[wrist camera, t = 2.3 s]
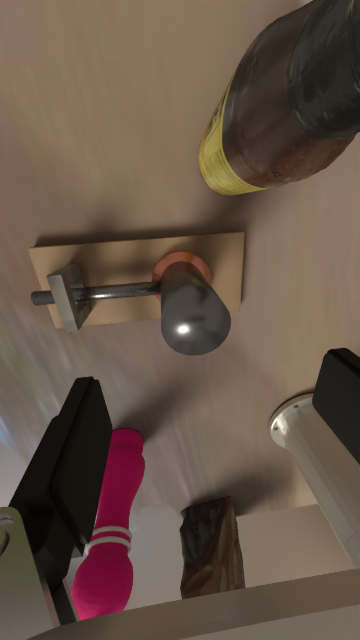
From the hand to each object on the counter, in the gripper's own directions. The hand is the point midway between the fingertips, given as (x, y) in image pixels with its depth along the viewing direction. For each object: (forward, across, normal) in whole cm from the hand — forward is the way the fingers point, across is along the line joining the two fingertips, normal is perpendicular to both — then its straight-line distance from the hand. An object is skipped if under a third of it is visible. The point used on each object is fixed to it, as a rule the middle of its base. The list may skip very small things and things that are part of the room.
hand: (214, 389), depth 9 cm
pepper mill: (+18, +11, +27) cm, 35 cm away
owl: (+18, -4, +54) cm, 57 cm away
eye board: (+18, +4, 0) cm, 19 cm away
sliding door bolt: (+17, +5, 0) cm, 18 cm away
